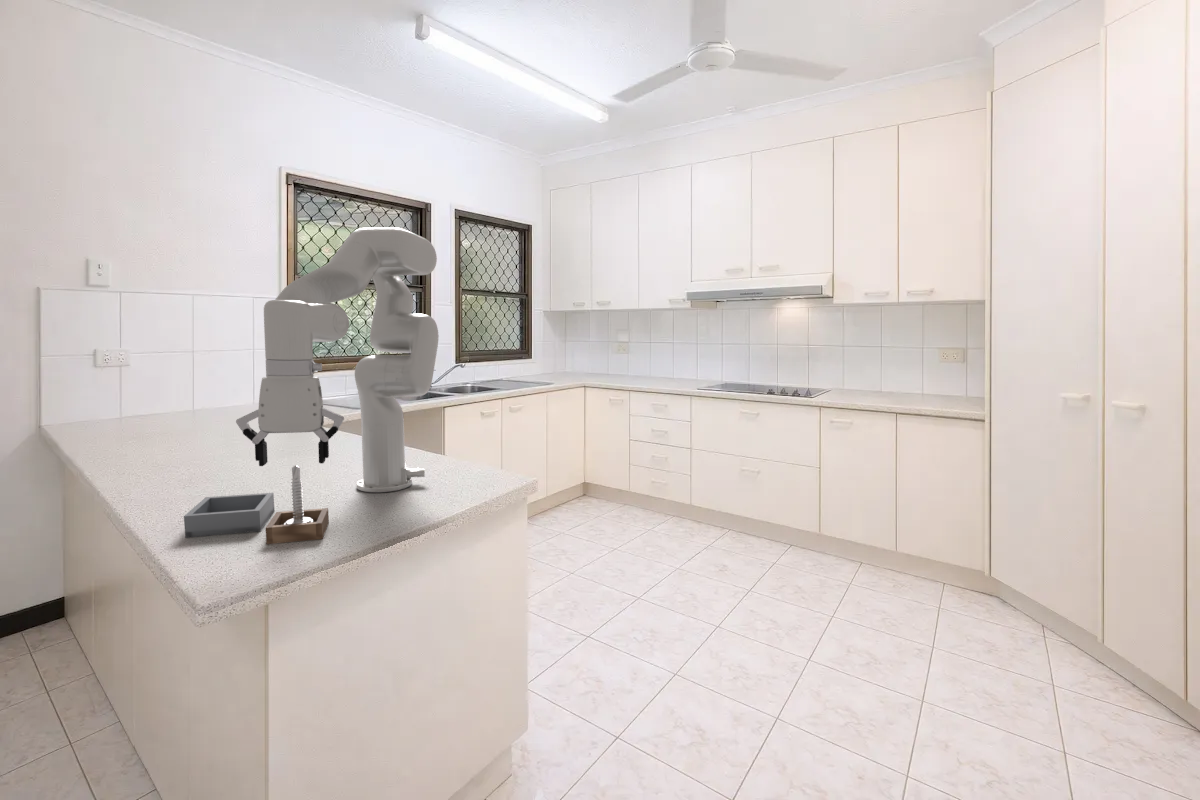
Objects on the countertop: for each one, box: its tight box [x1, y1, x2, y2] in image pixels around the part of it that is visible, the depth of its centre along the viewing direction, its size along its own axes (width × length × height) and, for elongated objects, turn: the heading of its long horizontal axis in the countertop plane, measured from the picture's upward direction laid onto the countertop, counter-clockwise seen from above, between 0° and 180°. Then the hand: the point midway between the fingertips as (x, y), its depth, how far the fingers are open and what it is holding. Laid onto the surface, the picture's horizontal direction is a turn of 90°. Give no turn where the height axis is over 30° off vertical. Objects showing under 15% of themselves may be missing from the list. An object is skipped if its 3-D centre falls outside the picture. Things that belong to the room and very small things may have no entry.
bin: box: [183, 492, 275, 539], centre depth 111 cm, size 12×12×4 cm
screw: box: [284, 464, 313, 525], centre depth 106 cm, size 13×5×5 cm
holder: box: [265, 507, 330, 545], centre depth 106 cm, size 9×9×3 cm
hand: (293, 463), depth 104 cm, fingers open, 9 cm apart
